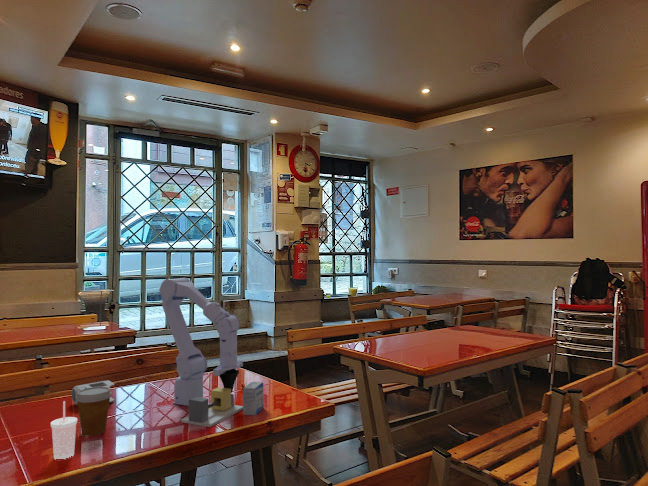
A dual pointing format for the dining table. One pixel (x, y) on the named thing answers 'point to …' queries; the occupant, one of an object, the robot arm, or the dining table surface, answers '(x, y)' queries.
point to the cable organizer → (96, 384)
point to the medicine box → (253, 398)
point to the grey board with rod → (208, 412)
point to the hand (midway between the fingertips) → (228, 392)
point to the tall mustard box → (223, 395)
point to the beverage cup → (63, 436)
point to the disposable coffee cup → (93, 409)
